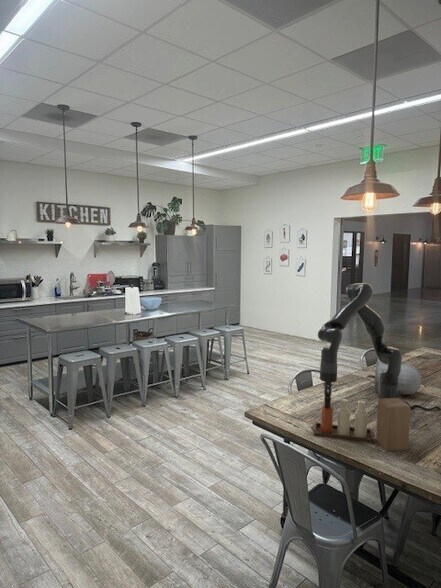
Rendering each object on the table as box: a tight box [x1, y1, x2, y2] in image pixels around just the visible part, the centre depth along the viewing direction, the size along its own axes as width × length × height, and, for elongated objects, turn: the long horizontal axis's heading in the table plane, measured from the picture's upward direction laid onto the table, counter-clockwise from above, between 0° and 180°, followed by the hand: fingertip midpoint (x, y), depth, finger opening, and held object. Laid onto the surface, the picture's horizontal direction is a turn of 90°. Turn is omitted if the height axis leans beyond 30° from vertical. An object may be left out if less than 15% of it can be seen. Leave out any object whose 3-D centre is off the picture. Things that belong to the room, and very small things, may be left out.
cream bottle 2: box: [353, 400, 369, 438], centre depth 179 cm, size 5×5×16 cm
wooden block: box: [375, 398, 412, 452], centre depth 171 cm, size 10×10×20 cm
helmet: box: [365, 360, 422, 396], centre depth 234 cm, size 19×18×30 cm
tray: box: [313, 422, 375, 444], centre depth 182 cm, size 26×11×2 cm, turn 75°
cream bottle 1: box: [336, 398, 351, 436], centre depth 181 cm, size 5×5×16 cm
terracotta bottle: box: [320, 395, 334, 433], centre depth 183 cm, size 5×5×16 cm
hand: (327, 405), depth 182 cm, fingers closed on terracotta bottle, 4 cm apart
